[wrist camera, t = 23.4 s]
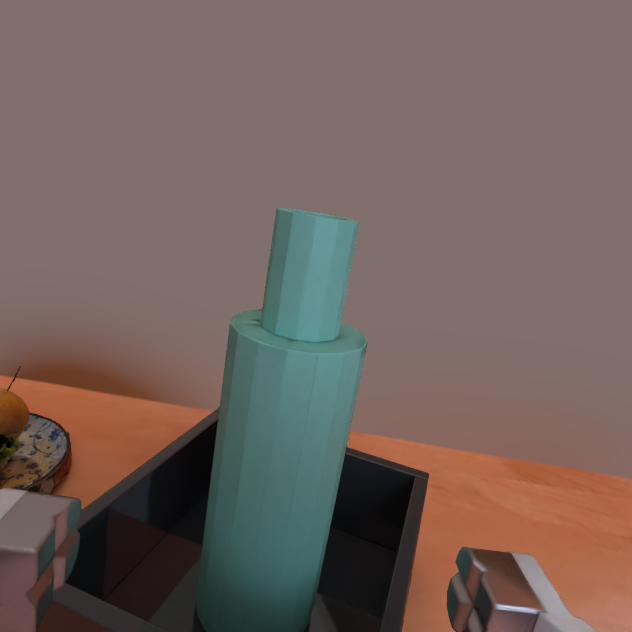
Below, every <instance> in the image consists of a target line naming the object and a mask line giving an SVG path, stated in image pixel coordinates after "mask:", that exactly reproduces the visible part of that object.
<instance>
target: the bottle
mask: <svg viewBox="0 0 632 632" xmlns="http://www.w3.org/2000/svg"><path fill="white" fill-rule="evenodd" d="M358 228H359V222H358V221H355V220H352V219H348V218H343V217H338V216H333V215H328V214H322V213H316V212H310V211H304V210H297V209H289V208H277V209H276V216H275V224H274V231H273V238H272V244H271V253H270V259H269V266H268V273H267V280H266V287H265V294H264V302H263V308H262V309H259V310H250V311H244V312H242V313H239V314H237V315H234V316H233V317H232V320H231V323H230V328H229V336H228V345H227V353H226V361H225V368H224V376H223V385H222V393H221V401H220V409H219V417H218V425H217V433H216V441H215V449H214V457H213V465H212V473H211V481H210V489H209V497H208V505H207V513H206V521H205V529H204V537H203V545H202V554H201V562H200V570H199V578H198V586H197V594H196V597H197V600H196V609H197V614H198V617H199V620H200V622H201V624H202V626H203V628H204V629H205V631H206V632H304V631H305V629H306V627H307V625H308V623H309V621H310V618H311V613H312V609H313V607H314V604H315V599H316V594H317V589H318V584H319V579H320V574H321V569H322V564H323V559H324V554H325V549H326V545H327V540H328V535H329V530H330V525H331V520H332V515H333V510H334V505H335V500H336V495H337V491H338V486H339V481H340V476H341V471H342V466H343V461H344V456H345V451H346V446H347V441H348V437H349V432H350V427H351V422H352V417H353V412H354V407H355V402H356V397H357V392H358V387H359V382H360V378H361V372H362V368H363V363H364V357H365V353H366V348H367V340H366V339H365V337H364V335H363V334H362V333H361V332H359V331H357V330H356V329H354V328H353V327H351V326H349V325H347V324H344V323H342V322H341V320H342V314H343V309H344V304H345V298H346V293H347V288H348V282H349V277H350V271H351V266H352V260H353V255H354V250H355V245H356V239H357V234H358Z"/></svg>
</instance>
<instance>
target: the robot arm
mask: <svg viewBox="0 0 632 632" xmlns="http://www.w3.org/2000/svg"><path fill="white" fill-rule="evenodd" d="M80 517H81V501H80V500H79V498H73V497H66V496H60V495H53V494H46V493H40V492H33V491H30V492H29V491H24V490H17V489H10V488H4V489H1V490H0V632H36V631H37V629H38V627H39V626H40V624H41V622H42V621H43V619H44V617H45V616H46V614H47V612H48V611H49V609H50V607H51V606H52V604H53V591H55V590H56V589H58V588H59V587H61V586H63V585H64V584H65V582H66V580H67V579H68V577H69V575H70V573H71V571H72V569H73V566H74V563H75V561H76V558H77V554H78V550H79V545H80V533H79V532H78V530H77V529H76V528H75V525H76V523H77V521H78V520H79V518H80ZM456 564H457V567H458V569H459V572H458V573H457V574H456V575H455V576H453V577H452V578H451V579H450V583H449V587H448V591H447V609H448V615H449V619H450V622H451V625H452V628H453V629H454V630H455V631H456V632H598V631H597V630H595V629H594V628H593V627H591V626H590V625H589V624H587V623H586V622H585V621H584V620H582V619H581V618H580V617H574V616H572V615H571V614H570V612H569V611H568V609H567V608H566V606H565V604H564V603H563V601H562V600H561V598H560V597H559V595H558V594H557V592H556V590H555V589H554V587H553V586H552V584H551V583H550V581H549V579H548V578H547V576H546V575H545V573H544V572H543V570H542V568H541V567H540V565H539V564H538V562H537V561H536V559H535V558H534V557H533V556H532V555H530V554H528V553H518V552H501V551H493V550H485V549H476V548H468V547H462V548H461V550H460V551H459V553H458V556H457V559H456Z"/></svg>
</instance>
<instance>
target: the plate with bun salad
mask: <svg viewBox="0 0 632 632" xmlns="http://www.w3.org/2000/svg"><path fill="white" fill-rule="evenodd" d="M20 367H21V366H20ZM19 369H20V368H19ZM19 369H18V371H19ZM17 374H18V372H17V373H16V375H17ZM16 375H15V377H14V379H13V381H14V380H15V378H16ZM13 381H12V382H11V384H12V383H13ZM11 384H10V386H11ZM10 386H9V388H10ZM9 388H8V390H9ZM8 390H5V389H0V490H1V489H4V488H10V489H17V490H24V491H29V492H30V491H33V492H40V493H46V494H50V493H51V491H52V488H53V487H54V486H55V485H56V484H57V483H60V481H61V478H62V476H63V475H64V474H65V473H66V474H69V470H70V467H71V443H70V438H69V433H68V432H66V431H65V429H64V428H63V427H62V426H61V425H60V424H59V423H57V422H55V421H53V420H51V419H49V418H46V417H43V416H40V415H37V414H32V413H29V411H28V408H27V406H26V404H25V403H24V401H23V400H22V399H21V398H20V397H18V396H17V395H15V394H14V393H12V392H10V391H8Z"/></svg>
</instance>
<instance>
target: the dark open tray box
mask: <svg viewBox="0 0 632 632" xmlns="http://www.w3.org/2000/svg"><path fill="white" fill-rule="evenodd" d="M219 409H220V407H219V408H218V409H216V410H215V411H214V412H212V413H211V414H210V415H208V416H207V417H206V418H204V419H203V420H202V421H200V422H199V423H198V424H196V425H195V426H194V427H192V428H191V429H190V430H188V431H187V432H186V433H184V434H183V435H182V436H180V437H179V438H178V439H176V440H175V441H174V442H172V443H171V444H170V445H168V446H167V447H166V448H164V449H163V450H162V451H160V452H159V453H158V454H156V455H155V456H154V457H152V458H151V459H150V460H148V461H147V462H146V463H144V464H143V465H142V466H140V467H139V468H138V469H136V470H135V471H134V472H132V473H131V474H130V475H128V476H127V477H126V478H124V479H123V480H122V481H120V482H119V483H118V484H116V485H115V486H114V487H112V488H111V489H110V490H108V491H107V492H106V493H104V494H103V495H102V496H100V497H99V498H98V499H96V500H95V501H94V502H92V503H91V504H89V505H88V506H87V507H85V508H84V509H83V510H81V517H80V518H79V520H78V521H77V523H76V525H75V528H76V529H77V530H78V532H79V533H80V545H79V550H78V554H77V558H76V561H75V563H74V566H73V569H72V571H71V573H70V575H69V577H68V579H67V580H66V582H65V584H64V585H63V586H61V587H59V588H58V589H56V590H55V591H53V604H52V606H51V607H50V609H49V611H48V612H47V614H46V616H45V617H44V619H43V621H42V622H41V624H40V626H39V627H38V629H37V631H36V632H206V631H205V629H204V628H203V626H202V624H201V622H200V620H199V617H198V614H197V609H196V600H197V597H196V594H197V586H198V578H199V570H200V562H201V554H202V545H203V537H204V529H205V521H206V513H207V505H208V497H209V489H210V481H211V473H212V465H213V457H214V449H215V441H216V433H217V425H218V417H219ZM428 478H429V473H426V472H423V471H420V470H417V469H413V468H410V467H407V466H404V465H401V464H398V463H395V462H391V461H388V460H385V459H382V458H379V457H376V456H373V455H369V454H366V453H363V452H360V451H357V450H354V449H351V448H347V447H346V451H345V456H344V461H343V466H342V471H341V476H340V481H339V486H338V491H337V495H336V500H335V505H334V510H333V515H332V520H331V525H330V530H329V535H328V540H327V545H326V549H325V554H324V559H323V564H322V569H321V574H320V579H319V584H318V589H317V594H316V599H315V604H314V607H313V609H312V613H311V618H310V621H309V623H308V625H307V627H306V629H305V631H304V632H402V627H403V621H404V615H405V609H406V604H407V598H408V592H409V587H410V581H411V575H412V569H413V564H414V558H415V552H416V547H417V541H418V535H419V529H420V524H421V518H422V512H423V507H424V501H425V495H426V490H427V484H428Z"/></svg>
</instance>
